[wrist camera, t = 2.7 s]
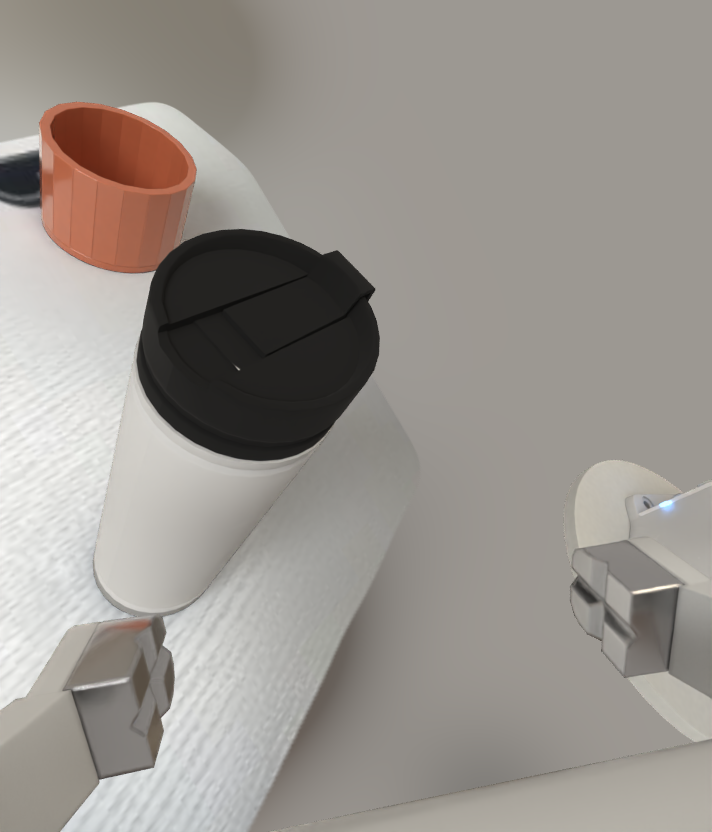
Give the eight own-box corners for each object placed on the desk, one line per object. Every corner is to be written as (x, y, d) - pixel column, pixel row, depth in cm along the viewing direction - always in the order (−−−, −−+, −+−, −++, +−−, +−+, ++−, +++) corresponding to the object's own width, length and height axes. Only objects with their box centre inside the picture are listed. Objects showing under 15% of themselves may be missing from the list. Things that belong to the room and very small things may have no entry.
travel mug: (241, 562, 29) (432, 338, 15) (141, 646, 24) (277, 438, 10) (175, 483, 29) (294, 198, 15) (66, 549, 25) (92, 230, 11)
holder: (164, 199, 44) (179, 123, 39) (190, 278, 40) (211, 204, 35) (34, 177, 38) (32, 86, 33) (49, 266, 34) (49, 177, 29)
